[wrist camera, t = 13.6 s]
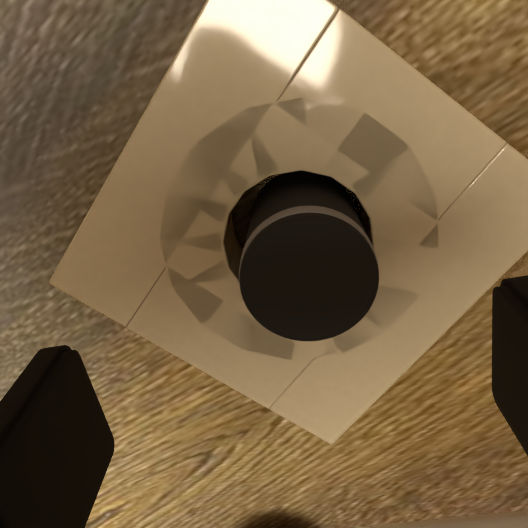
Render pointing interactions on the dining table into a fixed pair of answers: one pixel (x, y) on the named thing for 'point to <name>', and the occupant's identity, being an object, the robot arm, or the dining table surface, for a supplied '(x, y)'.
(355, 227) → the stopper
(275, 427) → the dining table surface
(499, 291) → the robot arm
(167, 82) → the sink floor
